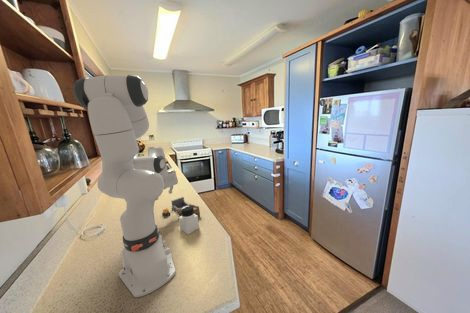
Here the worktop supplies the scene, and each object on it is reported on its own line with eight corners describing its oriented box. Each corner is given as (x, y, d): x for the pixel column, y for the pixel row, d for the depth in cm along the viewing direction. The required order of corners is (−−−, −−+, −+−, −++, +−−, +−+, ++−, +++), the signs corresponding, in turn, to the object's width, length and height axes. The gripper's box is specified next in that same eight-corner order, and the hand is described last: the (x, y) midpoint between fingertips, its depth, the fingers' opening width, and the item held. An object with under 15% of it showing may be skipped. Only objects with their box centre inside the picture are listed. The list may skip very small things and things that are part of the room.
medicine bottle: (199, 228, 92) (197, 206, 89) (187, 235, 87) (184, 212, 84) (191, 223, 97) (189, 202, 94) (180, 229, 91) (177, 208, 89)
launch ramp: (200, 216, 103) (199, 206, 102) (187, 221, 98) (186, 212, 97) (190, 208, 112) (189, 200, 111) (178, 213, 107) (177, 204, 106)
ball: (169, 213, 106) (169, 208, 105) (164, 215, 104) (163, 210, 103) (167, 211, 108) (167, 206, 108) (162, 213, 106) (161, 208, 106)
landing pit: (190, 208, 112) (189, 201, 111) (178, 213, 107) (177, 205, 106) (183, 203, 120) (182, 196, 119) (172, 207, 115) (171, 200, 114)
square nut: (170, 215, 106) (170, 212, 106) (164, 217, 104) (164, 215, 104) (168, 212, 109) (167, 210, 109) (162, 215, 107) (162, 212, 106)
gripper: (172, 168, 111) (175, 188, 114) (139, 179, 95) (144, 202, 98) (178, 169, 107) (181, 190, 111) (145, 181, 91) (150, 205, 95)
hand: (163, 196), depth 104 cm, fingers open, 8 cm apart
